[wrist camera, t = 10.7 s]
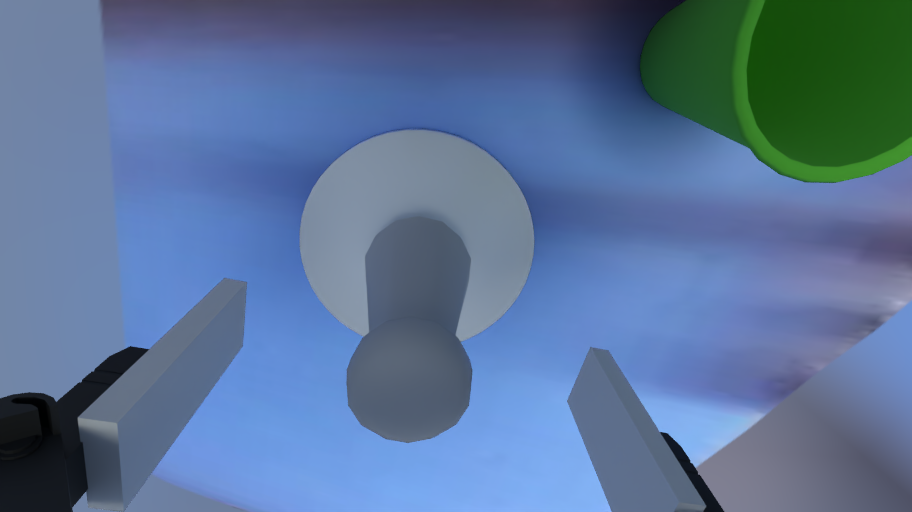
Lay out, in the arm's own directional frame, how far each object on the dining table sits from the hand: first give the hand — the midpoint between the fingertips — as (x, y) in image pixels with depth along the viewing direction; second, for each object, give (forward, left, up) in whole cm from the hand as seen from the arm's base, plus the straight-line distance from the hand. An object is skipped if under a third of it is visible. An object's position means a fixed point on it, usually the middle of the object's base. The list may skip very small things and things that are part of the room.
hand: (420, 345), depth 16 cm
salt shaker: (0, 0, -10) cm, 10 cm away
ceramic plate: (0, 0, -11) cm, 11 cm away
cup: (-18, -3, -12) cm, 21 cm away
